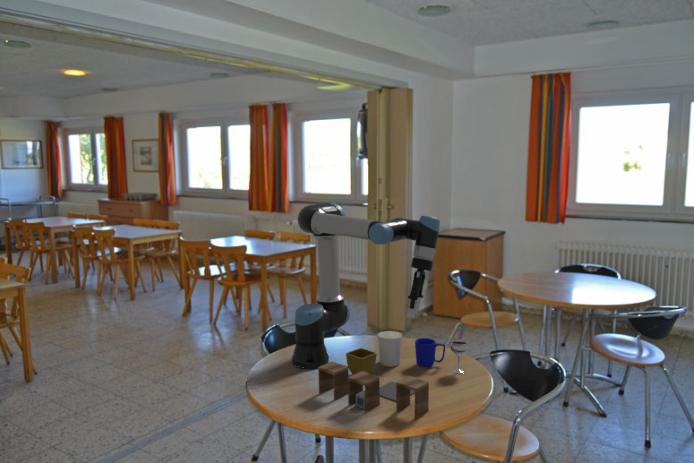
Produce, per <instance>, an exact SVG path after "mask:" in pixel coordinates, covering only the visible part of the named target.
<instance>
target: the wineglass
mask: <svg viewBox="0 0 694 463" xmlns="http://www.w3.org/2000/svg"><path fill="white" fill-rule="evenodd" d="M468 343H469V341H468V340H466V339H462V338H454V339H451V340H450V345H449V346H450V347H449V348H450V352H452V353H453V354H455V355H456V356H457V364H458V365H457V367H458V368H455V369H452V371H453V372H452V373H453V374H456V373H463V372H464V371H465V370H464V369H462V368H461V369H460V367H461V366H460V365H461V364H460V363H461V356H463V355H465V354H466V353H467V352H468V349H469V345H468ZM463 370H464V371H463ZM463 374H464V373H463Z"/></svg>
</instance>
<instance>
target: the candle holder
mask: <svg viewBox="0 0 694 463" xmlns="http://www.w3.org/2000/svg"><path fill="white" fill-rule="evenodd" d="M377 337H378V338H377V340H378V353H379V354H378V356H379V357H378V358H379V363H380V365H381V366H383V367H388V368H390V367H393V368H394V367H397V366H399V365H400V364H401V356H402V341H403V334H402V333H401V332H398V331H395V330H385V331H380V332H378V334H377Z"/></svg>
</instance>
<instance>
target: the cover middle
mask: <svg viewBox="0 0 694 463" xmlns="http://www.w3.org/2000/svg"><path fill="white" fill-rule="evenodd" d="M380 378H381V377H380V376H379V375H375V374H372V373H371V374H369V373H366V372H363V371H360V372H358V373H356V374H354V375H352V374H351V375H349V377H348V394H347V396H348V397H347V398H348V399H347V400H348V401H347V402H348V406H350V407H351V406H353V405H354V404H356V394H358V393H360V392H362V391H365V409H364V412H365V413H368V412H369V411H371V410H373V409H375V408H377V407H379V406H381V403H380V402H381V401H380V400H381V399H380V397H381V396H380V387H381V386H380V385H381V384H380V383H381V382H380Z"/></svg>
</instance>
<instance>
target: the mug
mask: <svg viewBox="0 0 694 463" xmlns="http://www.w3.org/2000/svg"><path fill="white" fill-rule="evenodd" d="M439 346H441V347H443V351H442V356H441V358H440V359H438V360H437V359H436V349H437V347H439ZM414 348H415V359H416V360H415V362H416V365H418V367H420V368H431V367H432V366H434V363H437V364H438V363H442V362H443V361H444V357H445V354H446V344H445V343H439V342H438V343H436V340H434V339H432V338H427V337H421V338H420V337H419V338H417V339H415V340H414Z"/></svg>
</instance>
